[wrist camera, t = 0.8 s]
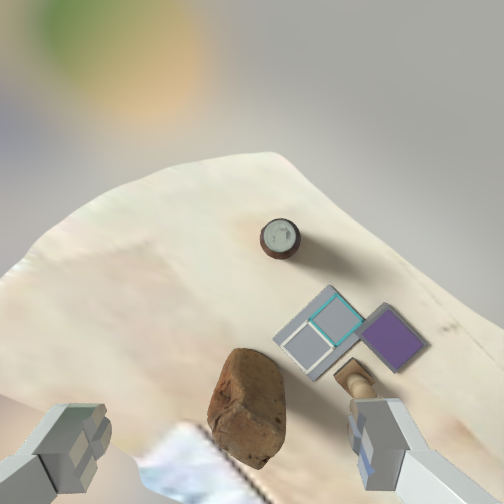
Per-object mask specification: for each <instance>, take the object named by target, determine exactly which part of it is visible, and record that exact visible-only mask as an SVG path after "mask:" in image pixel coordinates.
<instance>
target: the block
mask: <svg viewBox="0 0 504 504" xmlns="http://www.w3.org/2000/svg"><path fill="white" fill-rule="evenodd" d="M207 415H208V419H207V421H208V425H209V427H210V428H211V430H212V435H213V438H214V440H215V442H216V443H217V444H218V445H219V446H220V447H221V448H222V449H224V450H226V451H227V452H228V453H229V454H231V456H233V457H235V458H236V459H237V460H239V461H240V462H242V463H244V464H246V465H248V466H250V467H252V468H254V469H257V470H259V469H261V468H263V467H264V465H265V464H266V463H267V462H268V460H269V459H270V458H272V457H273V456H274V455H275V454H276V453H277V452H278V451H279V450H280V448H281V447H282V445H283V443H284V441H285V435H286V403H285V392H284V384H283V377H282V375H281V373H280V372H279V370H278V368H277V366H276V364H275V363H274V362H273V361H271V360H270V359H269V358H267V357H266V356H264V355H263V354H261V353H259V352H255V351H253V350H250V349H246V348H242V349H241V348H237V349H234V350H233V351H232V352H231V354H230V355H229V357H228V358H227V360H226V362H225V364H224V366H223V369H222V372H221V374H220V378H219V381H218V383H217V385H216V388H215V390H214V394H213V396H212V398H211V402H210V405H209V409H208V414H207Z"/></svg>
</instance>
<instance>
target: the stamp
mask: <svg viewBox="0 0 504 504" xmlns="http://www.w3.org/2000/svg"><path fill="white" fill-rule="evenodd" d="M334 377H335V379H336V381H337V382H338V383H339V384H340V385H341V386H342V387H343V388H344V389H345V390H346V391H347V392H348V393H349V394H350V395H351V397H352V398H353V399H371V398H377V395H376V393H375V391H374V390H373V389H372V387H371V386H372V385H373V384H374V383H375V381H374V379H373V378H372V377H371V376H370V375H369V374H368V373H367V372H366V371H365V370H364V369H363V368H362V366H361V365H360V364H359V363H358V362H357V361H356V360H355V359H354V358H353V357H352V358H351V359H350V360H349V361H348V362H346V363H345V364H344V365H343V366H342V367H341V368H340V369H339V370H338V371H337V372H336V373H335V374H334Z"/></svg>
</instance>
